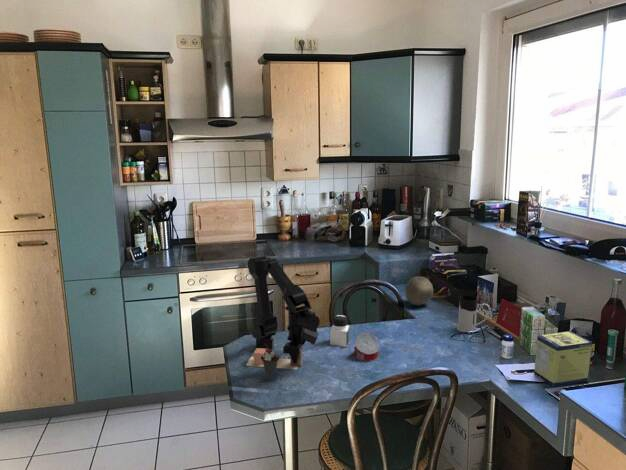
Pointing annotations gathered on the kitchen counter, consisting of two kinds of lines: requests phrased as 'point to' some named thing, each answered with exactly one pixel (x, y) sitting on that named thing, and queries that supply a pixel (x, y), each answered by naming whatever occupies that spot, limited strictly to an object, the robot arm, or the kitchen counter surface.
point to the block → (258, 355)
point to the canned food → (366, 347)
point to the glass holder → (468, 313)
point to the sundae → (270, 362)
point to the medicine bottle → (339, 331)
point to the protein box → (562, 358)
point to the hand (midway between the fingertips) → (296, 361)
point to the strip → (281, 362)
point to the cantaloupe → (419, 290)
